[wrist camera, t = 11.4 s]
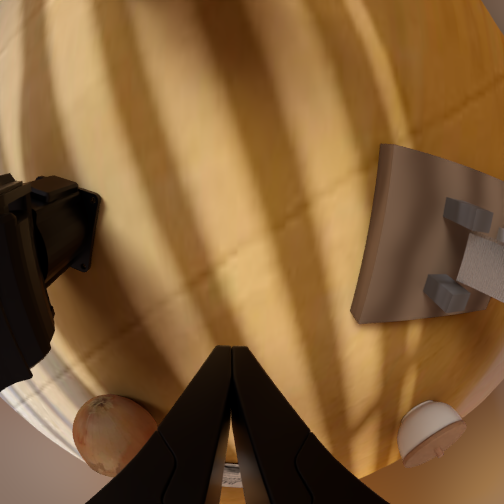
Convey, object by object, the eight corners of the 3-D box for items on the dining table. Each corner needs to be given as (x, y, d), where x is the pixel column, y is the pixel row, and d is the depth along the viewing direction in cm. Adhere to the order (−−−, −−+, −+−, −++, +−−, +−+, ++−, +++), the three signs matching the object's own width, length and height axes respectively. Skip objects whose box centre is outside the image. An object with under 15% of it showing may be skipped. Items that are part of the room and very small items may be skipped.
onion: (118, 427, 28) (102, 487, 19) (73, 378, 25) (42, 443, 15) (180, 425, 28) (172, 495, 19) (137, 372, 24) (112, 454, 15)
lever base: (350, 311, 23) (385, 368, 16) (380, 143, 18) (445, 149, 11) (477, 300, 24) (514, 334, 17) (507, 185, 19) (556, 202, 12)
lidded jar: (432, 382, 29) (463, 429, 20) (452, 397, 32) (477, 434, 23) (376, 428, 32) (396, 476, 23) (404, 435, 35) (423, 474, 26)
